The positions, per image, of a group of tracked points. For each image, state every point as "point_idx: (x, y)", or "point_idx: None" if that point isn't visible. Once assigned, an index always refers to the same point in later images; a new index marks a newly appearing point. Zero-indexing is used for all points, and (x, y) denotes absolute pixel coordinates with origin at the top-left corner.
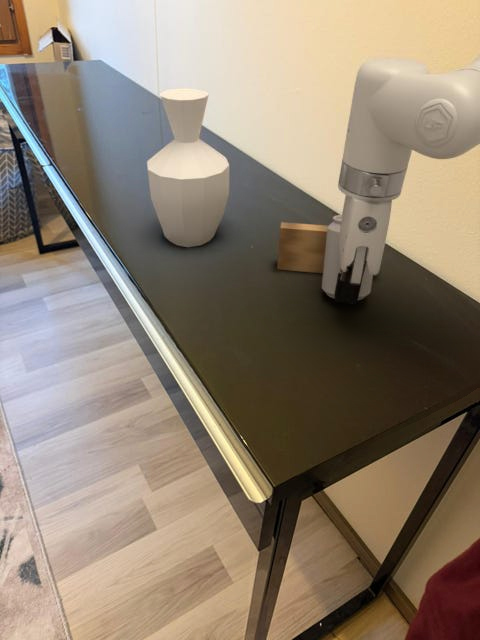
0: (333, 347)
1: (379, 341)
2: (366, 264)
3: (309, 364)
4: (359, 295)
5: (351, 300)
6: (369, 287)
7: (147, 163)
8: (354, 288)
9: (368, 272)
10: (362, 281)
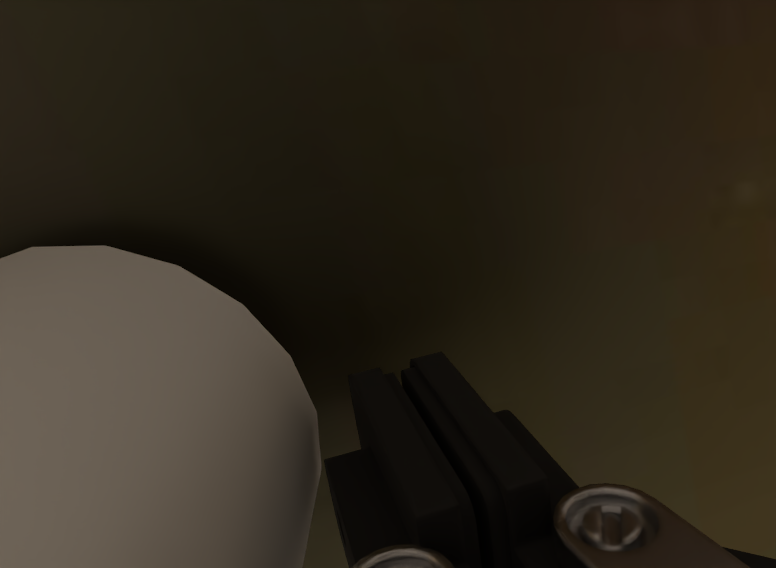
0: (636, 339)
1: (532, 85)
2: (137, 535)
3: (763, 412)
4: (268, 341)
5: (503, 411)
6: (135, 287)
7: None
8: (574, 485)
9: (127, 414)
10: (227, 406)
